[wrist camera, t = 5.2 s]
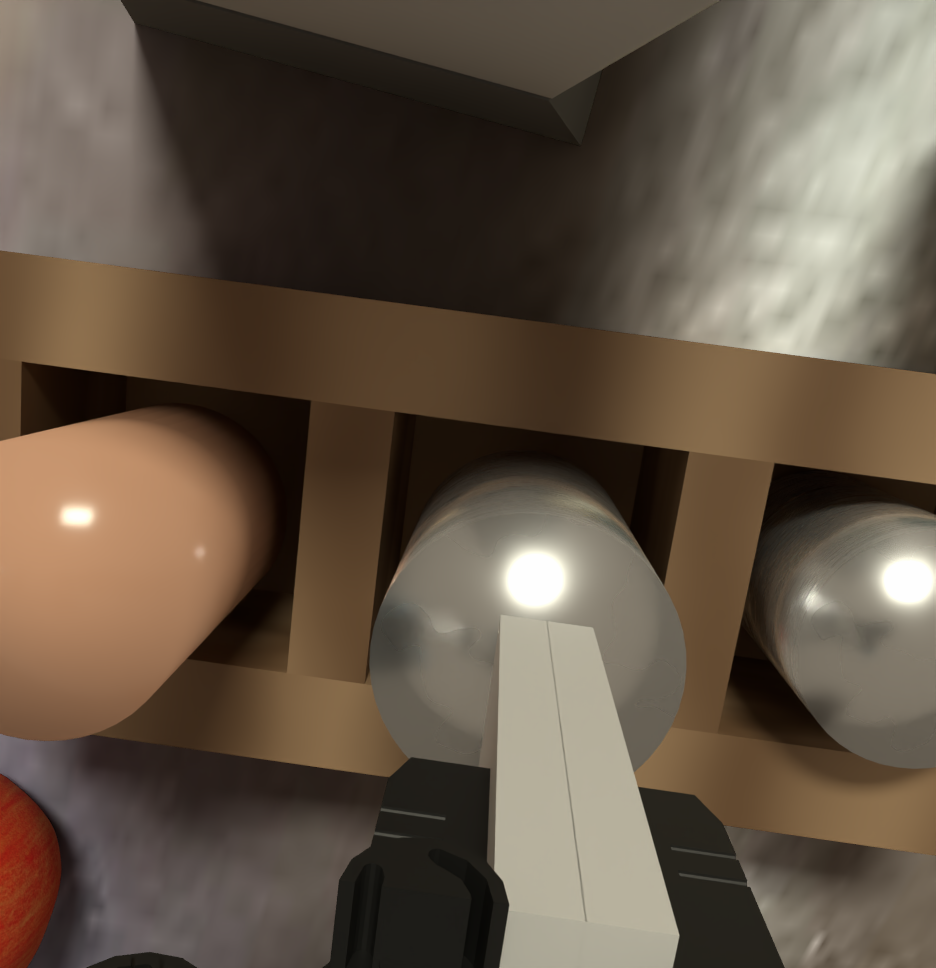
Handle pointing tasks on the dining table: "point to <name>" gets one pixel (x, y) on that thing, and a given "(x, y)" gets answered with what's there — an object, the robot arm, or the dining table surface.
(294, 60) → the alarm clock
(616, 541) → the plug mid
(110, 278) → the divided box
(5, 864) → the apple
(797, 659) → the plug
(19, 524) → the plug terracotta
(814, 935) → the dining table surface
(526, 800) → the robot arm
